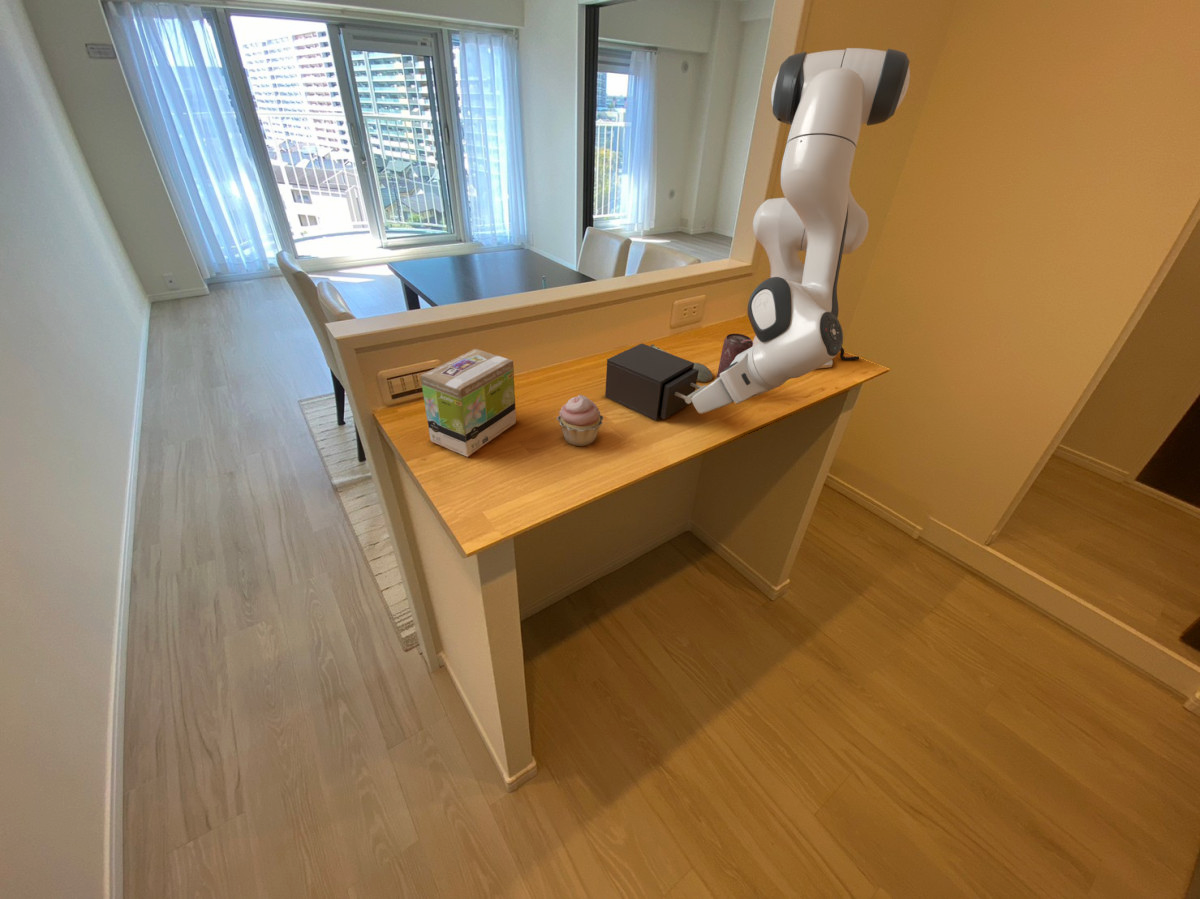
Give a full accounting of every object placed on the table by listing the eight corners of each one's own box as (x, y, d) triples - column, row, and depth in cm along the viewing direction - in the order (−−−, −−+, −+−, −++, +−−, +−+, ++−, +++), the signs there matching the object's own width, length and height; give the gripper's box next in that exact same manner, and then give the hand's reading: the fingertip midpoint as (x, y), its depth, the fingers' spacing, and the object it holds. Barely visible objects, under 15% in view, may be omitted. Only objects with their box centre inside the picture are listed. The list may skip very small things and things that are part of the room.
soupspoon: (697, 387, 121) (716, 382, 124) (700, 375, 119) (719, 370, 122) (642, 351, 134) (660, 347, 138) (644, 340, 132) (662, 336, 136)
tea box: (469, 459, 92) (459, 389, 83) (430, 442, 96) (416, 374, 87) (518, 423, 103) (514, 358, 94) (480, 409, 107) (473, 346, 98)
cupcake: (556, 425, 103) (555, 383, 97) (600, 425, 104) (602, 383, 98) (556, 451, 95) (556, 407, 89) (604, 450, 96) (607, 406, 90)
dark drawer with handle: (709, 407, 110) (716, 376, 105) (681, 427, 102) (687, 394, 98) (646, 381, 119) (649, 351, 114) (616, 397, 112) (618, 366, 107)
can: (741, 401, 115) (754, 344, 106) (713, 397, 115) (725, 341, 107) (740, 388, 119) (753, 334, 111) (714, 385, 120) (725, 331, 112)
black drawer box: (688, 400, 114) (694, 362, 108) (656, 421, 106) (661, 381, 100) (638, 379, 121) (641, 343, 116) (605, 397, 113) (607, 359, 108)
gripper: (771, 341, 99) (720, 369, 109) (720, 373, 86) (667, 402, 96) (787, 368, 99) (734, 394, 110) (738, 405, 86) (683, 430, 97)
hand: (702, 398), depth 103 cm, fingers closed, pressing on dark drawer with handle
